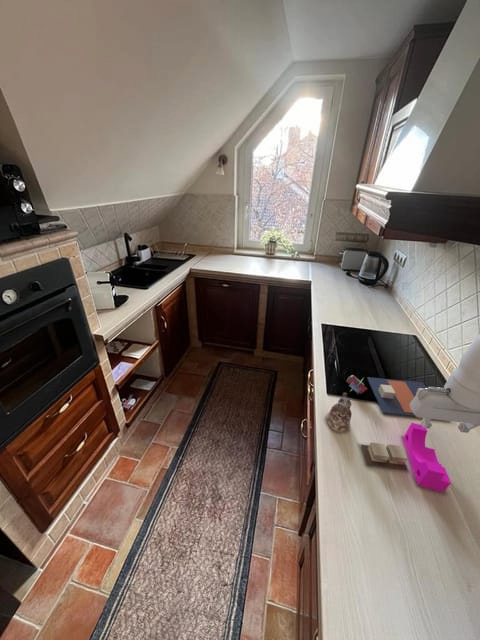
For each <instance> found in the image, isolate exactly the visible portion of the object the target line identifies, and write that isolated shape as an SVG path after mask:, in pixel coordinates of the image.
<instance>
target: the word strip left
mask: <svg viewBox="0 0 480 640" xmlns="http://www.w3.org/2000/svg"><path fill="white" fill-rule="evenodd" d="M360 447H361V451H362V454H363V457H364V460H365V463H366V466H368V467H369V466H370V467H379V468H387V469H394V470H402V471H403V470H404V471H407V470H408V466H407V464H406V463H407V461H408V458H409V457H407V456H408V455H407V454H406V452H405V449H404V448H403V446H402V445H396V444H387V445H385V443H381V442H373V441H372V442H369V445H367V444H361V445H360Z"/></svg>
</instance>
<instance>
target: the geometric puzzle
mask: <svg viewBox="0 0 480 640" xmlns="http://www.w3.org/2000/svg"><path fill="white" fill-rule="evenodd" d="M361 378H362V379H361V380H360V379H359V377H357V376H356V375H354V374H352V375H349V376H348V378H347V379H346V383H347V384H348V387H349V388H348V390H349V393H352V394H354V392H355V393H356V394H357V395H362V394H363V393H364V392H366V391H367V390H368V388H369V387H367V386H366V383H364V382H363V381H364V380H365V377H361ZM350 388H351V389H350ZM352 391H354V392H352Z"/></svg>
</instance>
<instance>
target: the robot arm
mask: <svg viewBox="0 0 480 640" xmlns="http://www.w3.org/2000/svg"><path fill="white" fill-rule="evenodd" d="M410 408H411V410H412V412H413V413H414V415H415V416H416V417H415V418H419V419H422V420H420V425H422V427H423V428H426V429H431V427H432V426H433V424H432V422H431V421H432V420H437V421H446V422H454V423H455V422H456V423H459V425H458V426H457V429H458V430H459V432H460V433H465V434H469V432H470V431H471V430H473V429H475V428H478V427H480V333H479V334H478V335H477V336H476V337H475V338H474V339H473V340H472V342H470V344H469V345H468V346H467V348H466V349H465V351H464V352H463V354H462V355H461V358H460V363H459V365H457V367H455V369H453V370H452V372H451V374H450V375H449V377H448V379H447V380H446V382H445V384H444V386H443V387H437V386H428V387H426V388H425V389H421V390H420V391H419V392H418V393H417V395H416V396H415V397H414V398H413V400H412V401H411V403H410Z"/></svg>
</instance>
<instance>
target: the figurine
mask: <svg viewBox="0 0 480 640" xmlns="http://www.w3.org/2000/svg"><path fill="white" fill-rule="evenodd" d="M351 407H352V402H351V400H350V399H349V398H348V393H347V392H343V393H342V396H341V397H340V398H339V399H338V402H337V403H334V404H333V405H332V406H331V408H330V410H329V412H328V414H327V416H326V422H327V424H328V426H329V427H330V428H331V429H332V430H333V431H336V432H338V433H340V432H346V431H347V430H348V429H349V427H350V423H351V419H352V411H351V410H352V409H351Z"/></svg>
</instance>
